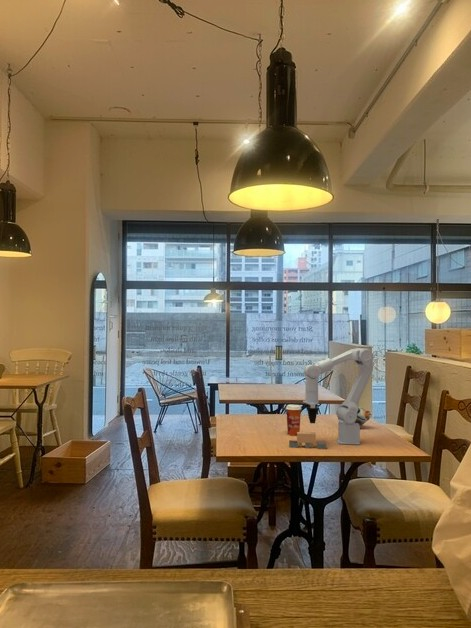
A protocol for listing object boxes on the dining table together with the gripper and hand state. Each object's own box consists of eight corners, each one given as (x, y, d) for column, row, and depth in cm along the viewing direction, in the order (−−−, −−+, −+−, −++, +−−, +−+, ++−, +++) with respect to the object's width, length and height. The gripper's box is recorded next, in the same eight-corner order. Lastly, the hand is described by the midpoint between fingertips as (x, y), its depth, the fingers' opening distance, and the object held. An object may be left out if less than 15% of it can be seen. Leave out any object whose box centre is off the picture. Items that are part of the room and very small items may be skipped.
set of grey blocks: (325, 446, 191) (325, 441, 191) (326, 448, 187) (326, 444, 187) (289, 444, 193) (289, 440, 193) (289, 447, 189) (289, 442, 189)
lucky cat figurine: (360, 423, 238) (370, 403, 233) (365, 437, 227) (377, 416, 222) (334, 416, 237) (345, 395, 232) (339, 429, 226) (350, 407, 221)
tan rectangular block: (315, 446, 191) (315, 432, 191) (315, 448, 188) (315, 434, 188) (296, 445, 192) (297, 431, 192) (297, 447, 189) (297, 433, 189)
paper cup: (289, 436, 208) (289, 407, 208) (283, 433, 215) (283, 404, 215) (304, 435, 210) (304, 406, 210) (297, 432, 217) (297, 404, 218)
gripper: (302, 389, 204) (302, 417, 204) (303, 393, 190) (303, 424, 190) (317, 389, 204) (317, 418, 203) (319, 393, 189) (320, 425, 189)
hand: (311, 421), depth 196 cm, fingers open, 7 cm apart
